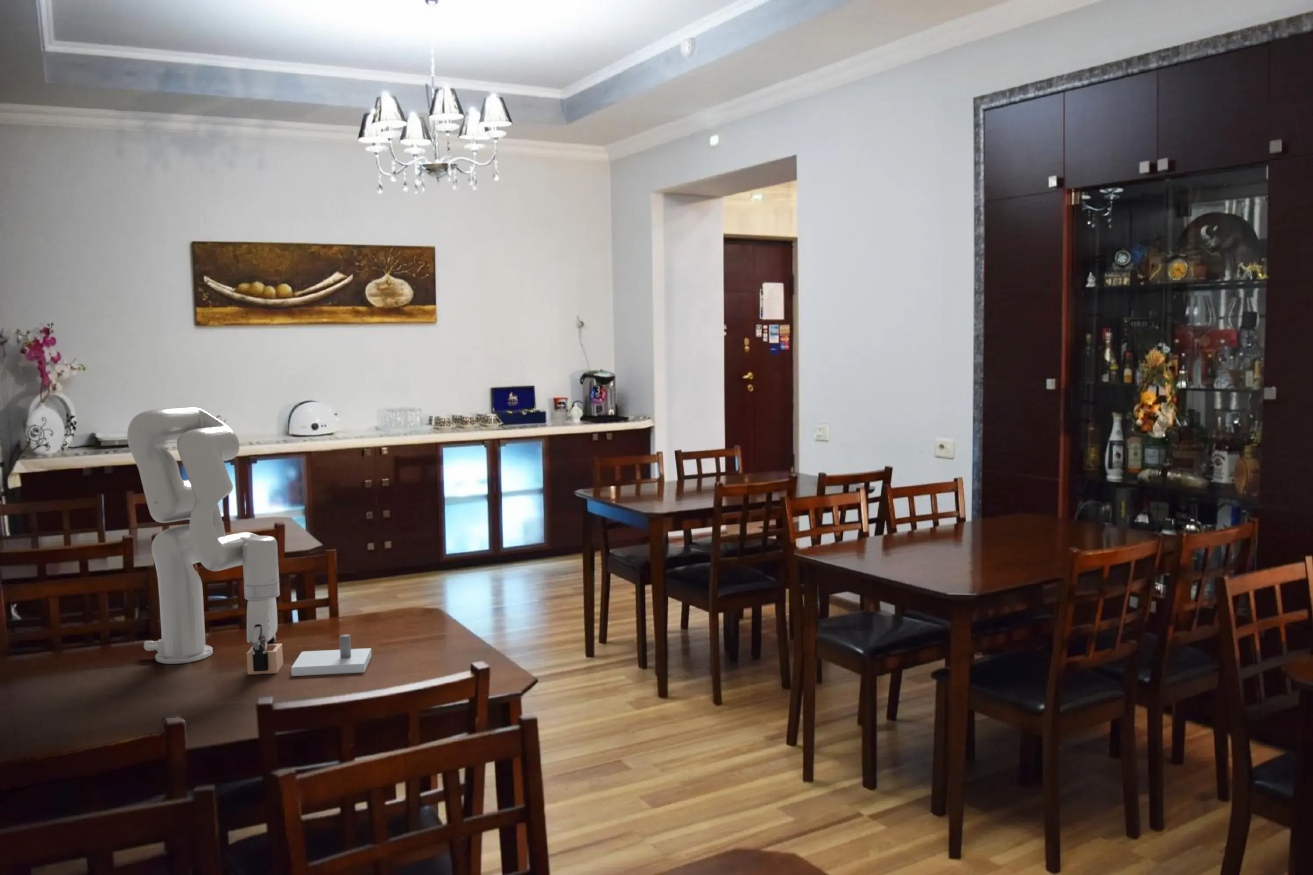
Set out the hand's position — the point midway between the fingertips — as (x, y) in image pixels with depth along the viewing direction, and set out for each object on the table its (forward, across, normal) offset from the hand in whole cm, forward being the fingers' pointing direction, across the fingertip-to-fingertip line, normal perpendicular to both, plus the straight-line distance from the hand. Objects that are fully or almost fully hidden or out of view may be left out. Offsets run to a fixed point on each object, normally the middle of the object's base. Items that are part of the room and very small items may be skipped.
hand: (265, 664), depth 239 cm
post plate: (+1, 0, +15) cm, 15 cm away
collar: (+1, 0, 0) cm, 1 cm away
